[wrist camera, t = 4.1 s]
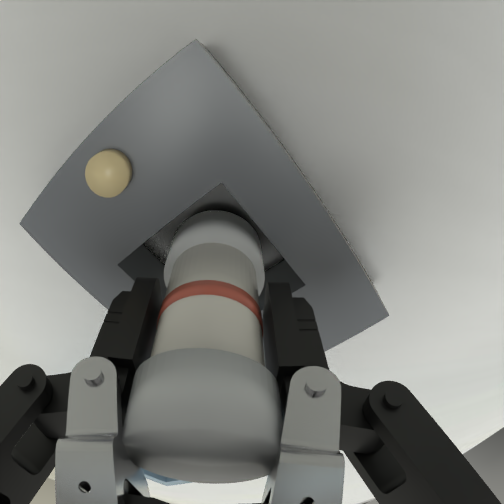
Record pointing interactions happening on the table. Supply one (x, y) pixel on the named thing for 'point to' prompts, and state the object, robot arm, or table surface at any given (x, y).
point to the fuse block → (195, 195)
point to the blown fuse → (207, 362)
